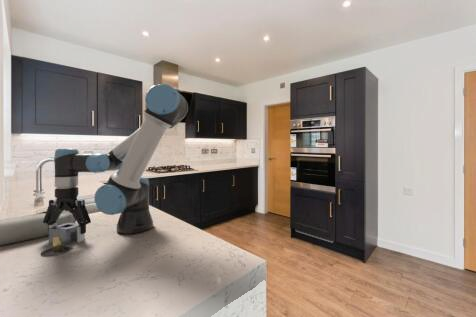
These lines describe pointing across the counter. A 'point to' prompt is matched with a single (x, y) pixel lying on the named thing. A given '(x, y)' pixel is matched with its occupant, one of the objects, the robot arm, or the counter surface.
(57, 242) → the hub
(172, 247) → the counter surface
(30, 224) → the grey cylindrical pipe
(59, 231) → the collar
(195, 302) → the counter surface
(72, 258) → the counter surface
